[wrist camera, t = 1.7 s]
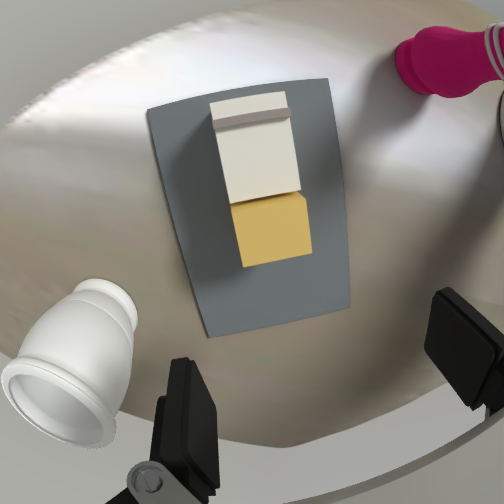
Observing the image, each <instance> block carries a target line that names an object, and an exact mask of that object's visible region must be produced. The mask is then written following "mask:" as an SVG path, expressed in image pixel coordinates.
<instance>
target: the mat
mask: <svg viewBox="0 0 504 504" xmlns="http://www.w3.org/2000/svg"><path fill="white" fill-rule="evenodd" d="M281 91H285V95H286V101H287V106H288V107H290V109H291V115H292V116H289V117H290V123H291V129H292V135H293V141H294V147H295V153H296V159H297V166H298V172H299V179H300V186H301V190H298V191H297V192H298V193H300V194H301V195H302V196H303V197H304V198H305V199H306V204H307V211H308V220H309V228H310V237H311V246H312V253H310V254H306V255H301V256H296V257H291V258H287V259H282V260H277V261H272V262H267V263H263V264H258V265H253V266H248V267H243V264H242V259H241V255H240V250H239V246H238V241H237V236H236V231H235V227H234V222H233V217H232V212H231V203H230V201H229V196H228V191H227V187H226V182H225V177H224V172H223V167H222V163H221V158H220V153H219V148H218V143H217V138H216V133H215V129H214V128H213V123H212V120H213V118H212V113H211V108H210V103H214V102H219V101H224V100H229V99H234V98H240V97H246V96H252V95H259V94H265V93H273V92H281ZM147 111H148V116H149V121H150V126H151V130H152V135H153V140H154V144H155V149H156V153H157V157H158V162H159V166H160V170H161V174H162V178H163V183H164V187H165V191H166V194H167V198H168V202H169V206H170V210H171V214H172V217H173V221H174V225H175V228H176V232H177V236H178V239H179V243H180V246H181V250H182V253H183V257H184V260H185V263H186V267H187V270H188V273H189V277H190V280H191V283H192V286H193V290H194V293H195V296H196V299H197V302H198V305H199V308H200V311H201V314H202V318H203V321H204V324H205V327H206V329H207V332H208V335H209V338H211V337H217V336H223V335H228V334H234V333H239V332H244V331H249V330H254V329H259V328H264V327H269V326H274V325H278V324H283V323H288V322H292V321H297V320H301V319H305V318H309V317H314V316H318V315H322V314H326V313H330V312H334V311H338V310H342V309H346V308H349V307H350V283H349V254H348V235H347V220H346V207H345V196H344V185H343V176H342V167H341V158H340V150H339V143H338V136H337V129H336V122H335V116H334V109H333V103H332V98H331V92H330V87H329V81H328V78H322V79H308V80H296V81H286V82H278V83H270V84H262V85H255V86H249V87H243V88H237V89H231V90H226V91H220V92H215V93H211V94H206V95H201V96H197V97H192V98H188V99H184V100H180V101H176V102H172V103H169V104H165V105H161V106H158V107H154V108H151V109H147Z"/></svg>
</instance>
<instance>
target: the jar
mask: <svg viewBox="0 0 504 504" xmlns="http://www.w3.org/2000/svg"><path fill="white" fill-rule="evenodd" d="M137 321H138V316H137V311H136V307H135V305H134V303H133V301H132V300H131V298H130V297H129V296H128V294H127V293H126V292H125V291H124V290H123V289H121V288H120V287H119V286H117V285H116V284H114V283H112V282H109V281H107V280H103V279H88V280H85V281H83V282H81V283H79V284H78V285H77V286H76V287H75V289H74V290H73V292H72V294H69V295H68V296H66V297H64V298H63V299H61V300H60V301H59V302H58V303H57V304H56V305H54V306H53V307H52V308H50V309H49V310H48V311H47V312H45V313H44V314H43V315H42V316H41V317H40V318H39V319H38V320H37V322H36V323H35V324H34V325H33V326H32V328H31V329H30V331H29V332H28V334H27V336H26V337H25V339H24V341H23V343H22V345H21V347H20V350H19V352H18V355H17V358H15V359H13V360H11V361H9V362H8V363H7V365H6V366H5V368H4V369H3V371H2V373H1V383H2V387H3V389H4V392H5V394H6V396H7V397H8V399H9V401H10V402H11V403H12V405H13V406H14V407H15V409H16V410H17V411H18V412H19V413H20V414H21V415H22V416H23V417H24V418H25V419H26V420H27V421H29V422H30V423H31V424H32V425H34V426H35V427H36V428H38V429H39V430H41V431H42V432H44V433H45V434H48V435H49V436H51V437H53V438H55V439H57V440H59V441H62V442H64V443H67V444H70V445H73V446H77V447H82V448H101V447H105V446H107V445H109V444H110V443H111V442H112V441H113V440H114V437H115V433H116V422H115V418H114V417H115V415H116V414H117V412H118V410H119V408H120V406H121V404H122V402H123V399H124V397H125V394H126V391H127V388H128V384H129V380H130V375H131V367H132V354H133V345H134V337H133V333H134V331H135V329H136V326H137Z"/></svg>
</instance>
